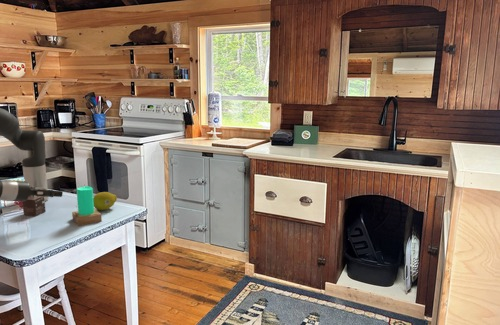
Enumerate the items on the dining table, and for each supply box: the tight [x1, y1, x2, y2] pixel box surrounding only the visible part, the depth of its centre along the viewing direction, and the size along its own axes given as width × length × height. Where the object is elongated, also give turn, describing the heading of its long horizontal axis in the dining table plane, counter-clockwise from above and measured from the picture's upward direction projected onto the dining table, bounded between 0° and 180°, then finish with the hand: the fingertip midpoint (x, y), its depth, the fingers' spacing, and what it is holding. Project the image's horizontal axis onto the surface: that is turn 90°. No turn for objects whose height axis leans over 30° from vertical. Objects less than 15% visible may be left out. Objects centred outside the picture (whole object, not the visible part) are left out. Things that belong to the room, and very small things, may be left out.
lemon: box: [93, 191, 118, 211], centre depth 169 cm, size 11×8×8 cm
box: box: [22, 197, 46, 217], centre depth 162 cm, size 6×6×7 cm
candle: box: [76, 184, 95, 215], centre depth 155 cm, size 6×6×12 cm
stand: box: [71, 207, 102, 227], centre depth 157 cm, size 9×9×3 cm
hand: (56, 193), depth 151 cm, fingers open, 8 cm apart
